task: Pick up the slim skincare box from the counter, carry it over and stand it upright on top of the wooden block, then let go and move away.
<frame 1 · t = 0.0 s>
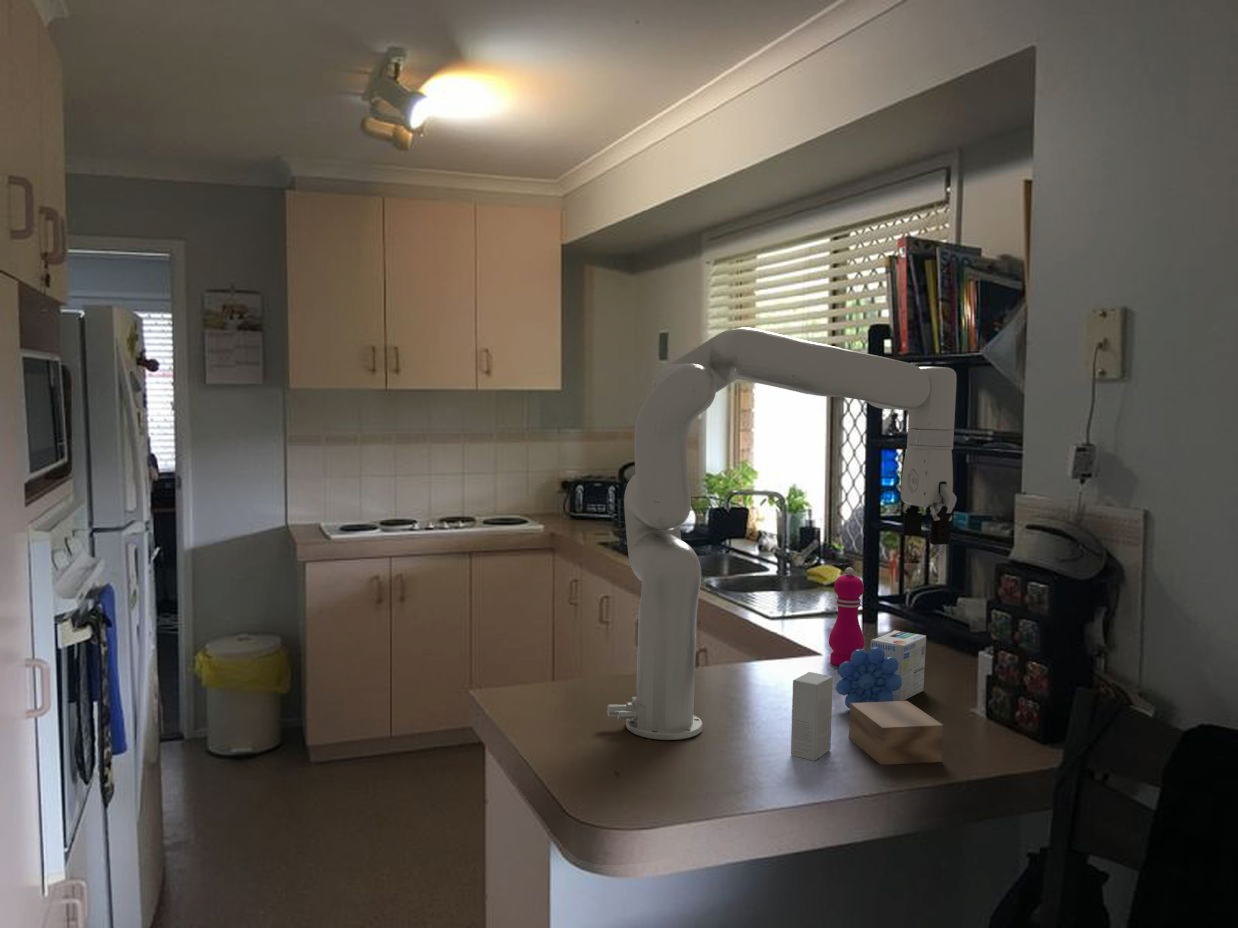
hand: (925, 539, 178), 31 cm above the counter, fingers open, 9 cm apart
wooden block: (893, 750, 164), on the counter
light bulb box: (896, 694, 194), on the counter
skincare box: (810, 754, 162), on the counter
pepper mill: (845, 663, 215), on the counter
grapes: (868, 713, 183), on the counter
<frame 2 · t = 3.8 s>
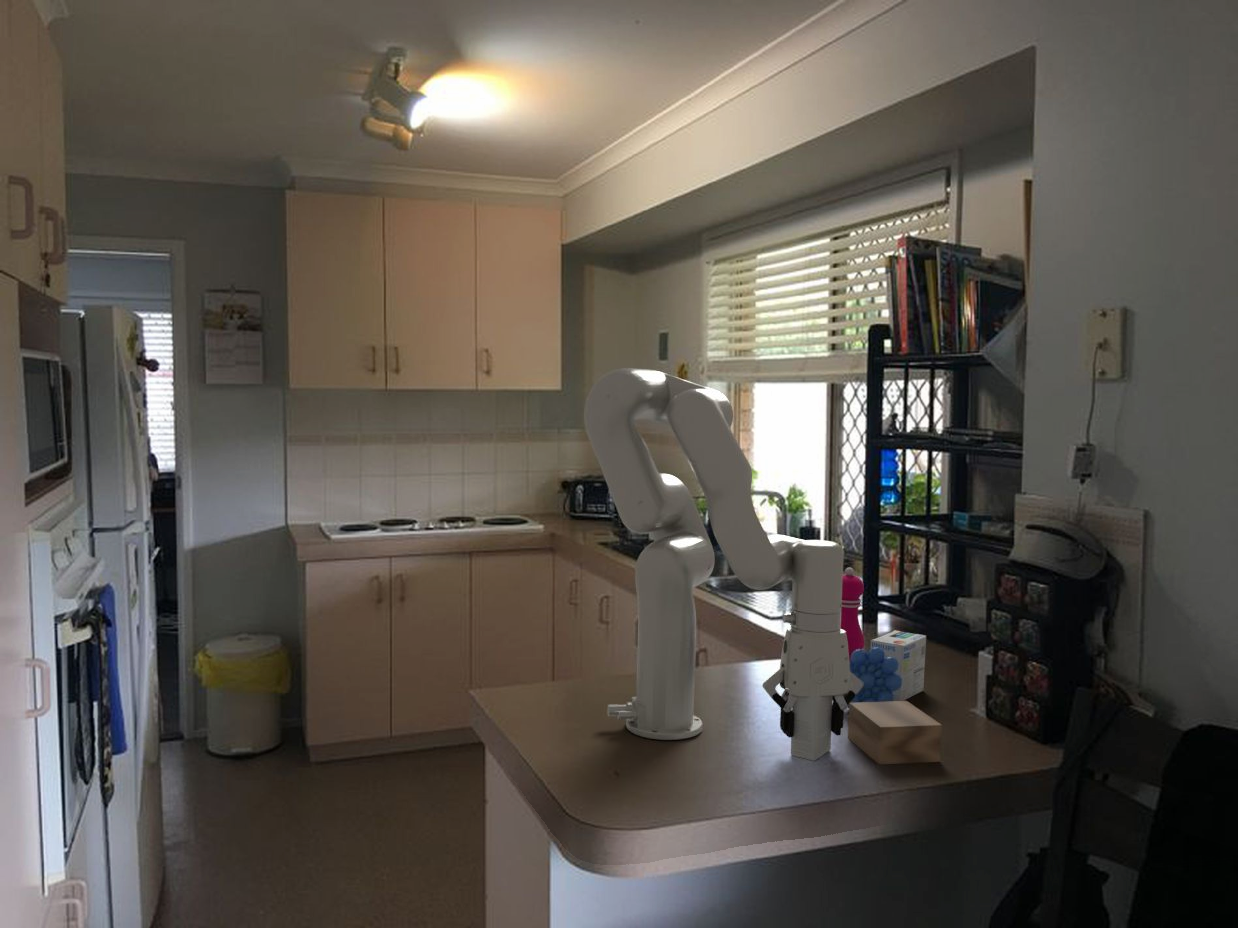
hand: (811, 732, 161), 3 cm above the counter, fingers closed on skincare box, 7 cm apart
skincare box: (810, 754, 162), on the counter, touching gripper
everything else where it was.
when the fingers open (10 cm above the counter, at t = 9.6 s): skincare box drops 2 cm, resting on wooden block.
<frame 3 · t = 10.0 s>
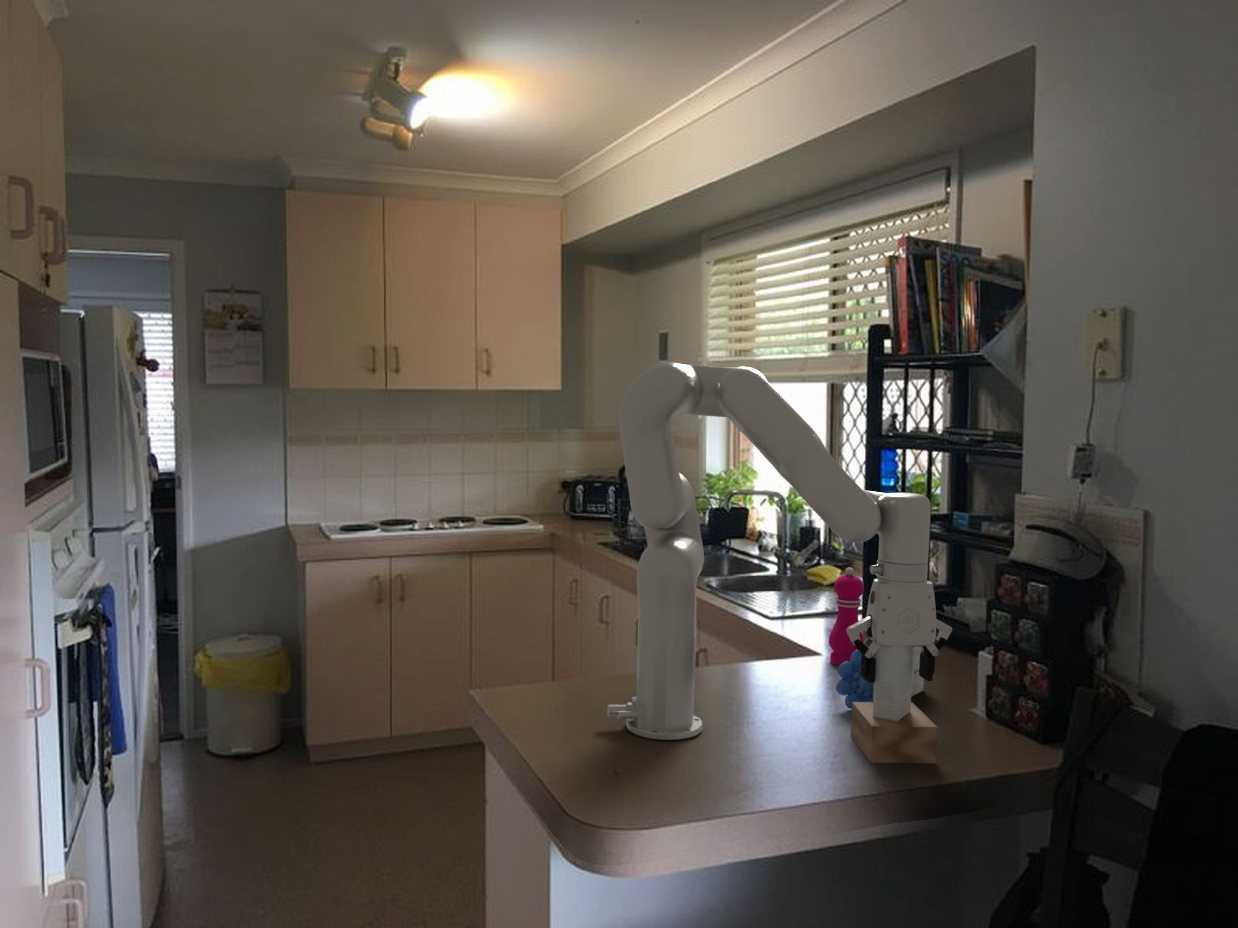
hand: (897, 679, 163), 11 cm above the counter, fingers open, 9 cm apart
wooden block: (891, 750, 164), on the counter, touching skincare box
skincare box: (891, 715, 164), point 5 cm above the counter, touching wooden block
everything else where it was.
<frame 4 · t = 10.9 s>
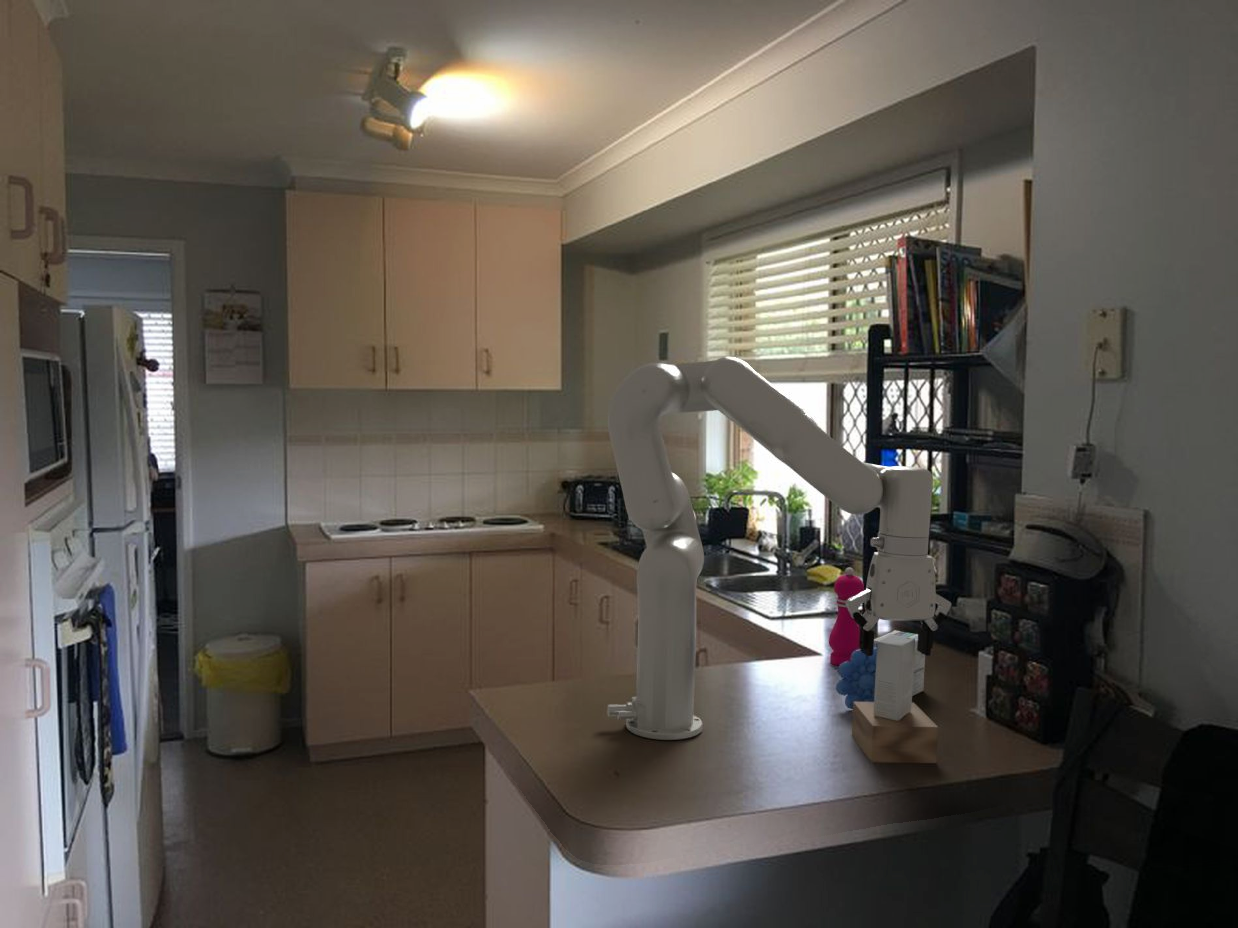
hand: (895, 653, 163), 15 cm above the counter, fingers open, 9 cm apart
nothing on the counter moved.
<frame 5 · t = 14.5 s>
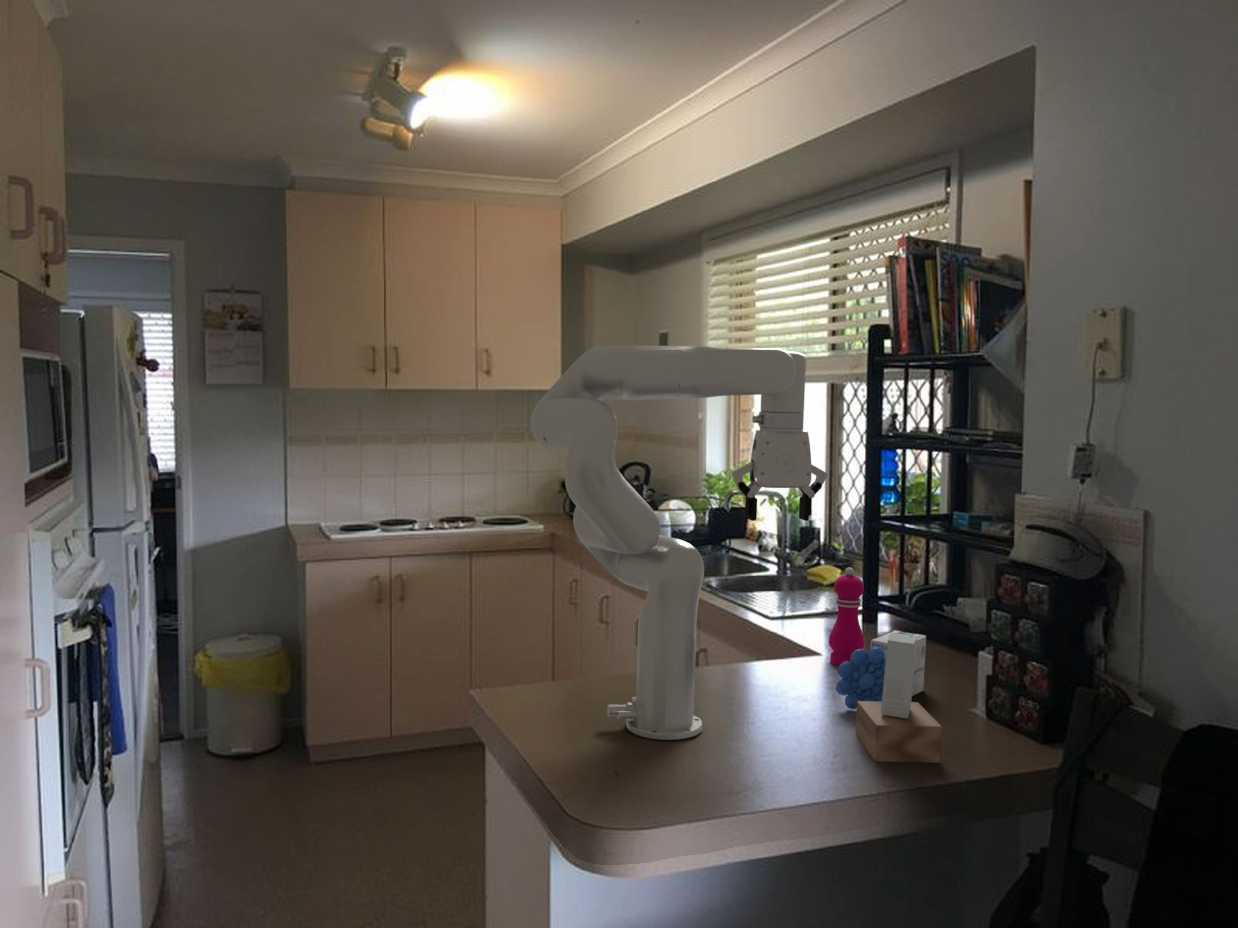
hand: (777, 519, 183), 33 cm above the counter, fingers open, 9 cm apart
wooden block: (896, 750, 165), on the counter
skincare box: (895, 713, 165), point 6 cm above the counter
everything else where it was.
at the end: skincare box inside the target area on the wooden block (0.4 cm from its centre), point 6.0 cm above the wooden block's base; skincare box tilted 3°; the gripper is holding nothing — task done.
